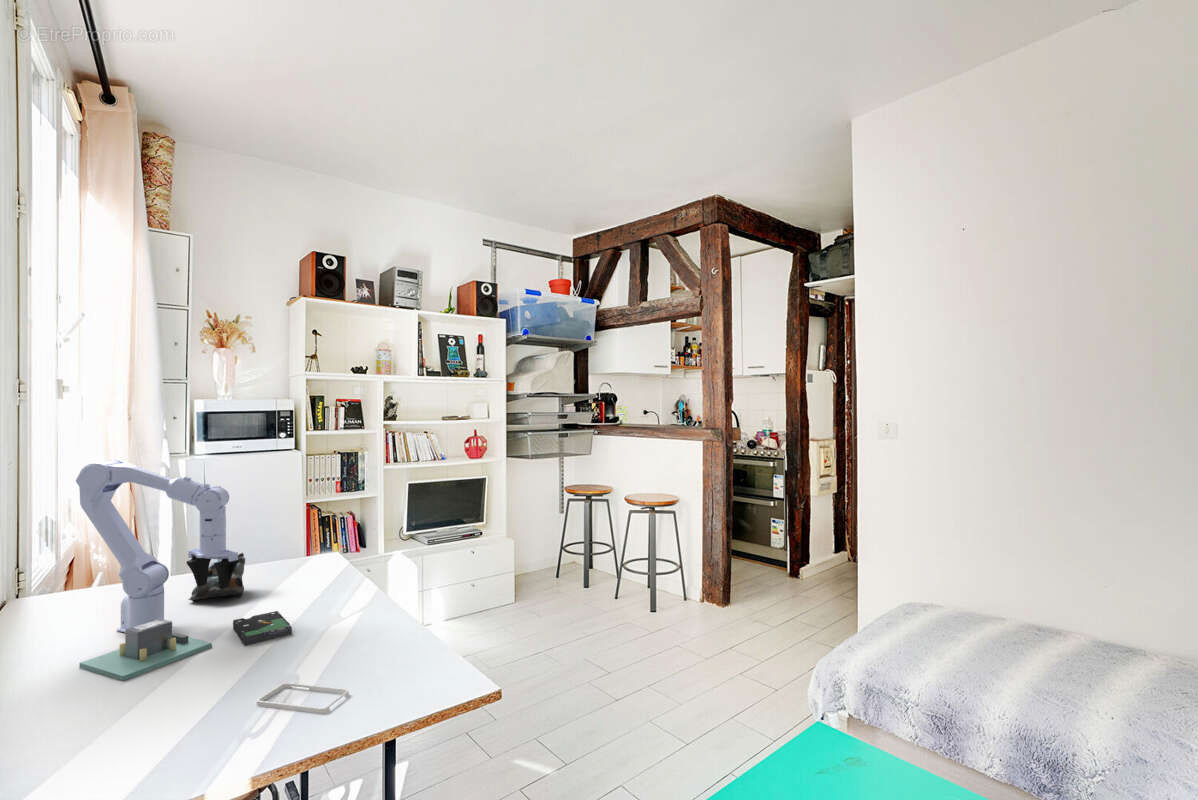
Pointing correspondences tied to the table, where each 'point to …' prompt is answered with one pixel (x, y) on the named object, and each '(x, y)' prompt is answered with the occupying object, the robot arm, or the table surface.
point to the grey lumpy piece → (213, 584)
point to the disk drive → (261, 628)
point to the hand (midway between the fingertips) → (213, 586)
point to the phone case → (299, 707)
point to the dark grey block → (148, 638)
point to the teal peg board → (143, 658)
